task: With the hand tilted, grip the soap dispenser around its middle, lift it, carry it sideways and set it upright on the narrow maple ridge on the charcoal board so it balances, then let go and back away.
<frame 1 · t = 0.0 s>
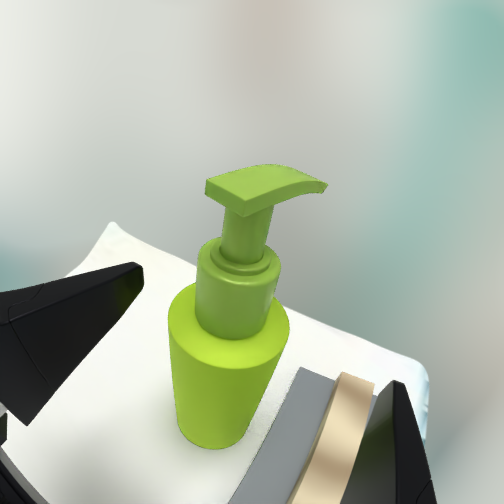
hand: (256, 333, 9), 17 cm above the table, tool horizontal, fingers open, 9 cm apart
base board: (317, 479, 17), on the table
ridge: (324, 476, 16), on the base board, point 1 cm above the table
soap dispenser: (216, 415, 21), on the table
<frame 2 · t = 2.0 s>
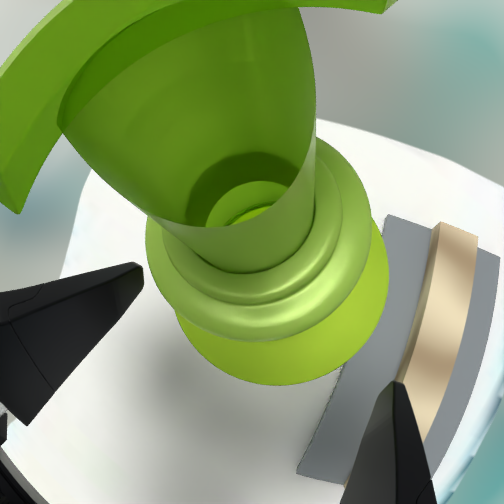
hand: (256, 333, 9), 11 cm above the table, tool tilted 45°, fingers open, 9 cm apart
base board: (417, 367, 17), on the table
ridge: (425, 370, 15), on the base board, point 1 cm above the table
soap dispenser: (298, 302, 20), on the table
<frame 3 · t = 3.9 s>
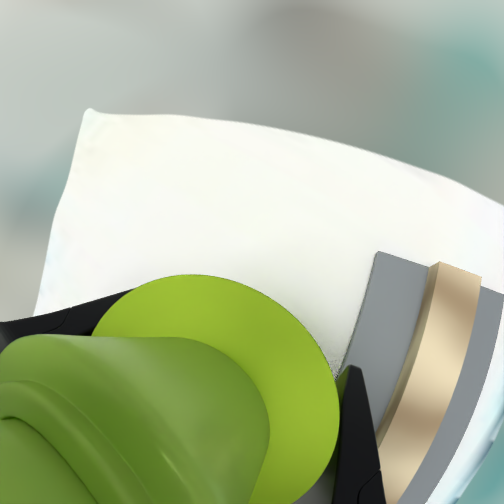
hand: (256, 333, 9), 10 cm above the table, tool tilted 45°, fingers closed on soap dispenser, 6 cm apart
base board: (402, 418, 15), on the table
ridge: (409, 425, 13), on the base board, point 1 cm above the table
soap dispenser: (272, 350, 18), on the table, touching gripper
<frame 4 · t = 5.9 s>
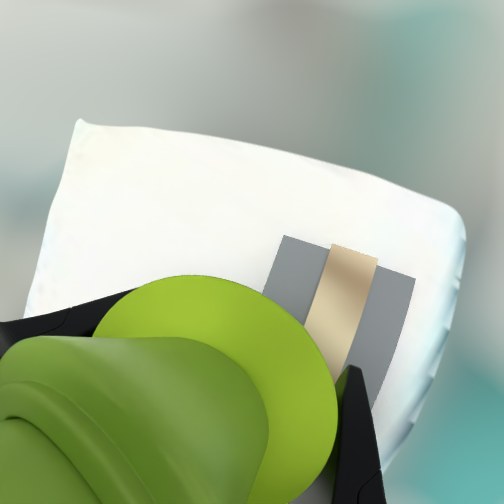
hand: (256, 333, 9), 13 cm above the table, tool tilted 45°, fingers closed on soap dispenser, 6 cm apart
base board: (306, 381, 20), on the table
ridge: (306, 386, 18), on the base board, point 1 cm above the table
soap dispenser: (273, 349, 18), point 3 cm above the table, touching gripper
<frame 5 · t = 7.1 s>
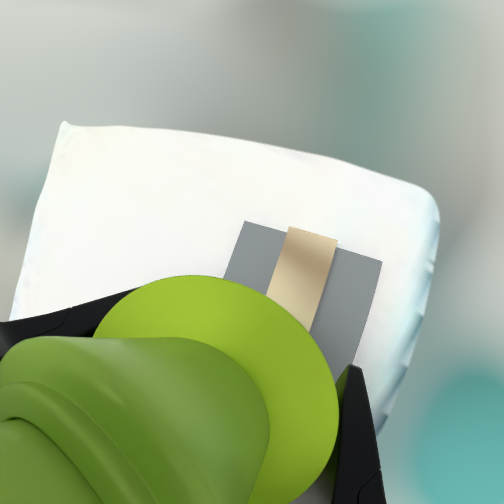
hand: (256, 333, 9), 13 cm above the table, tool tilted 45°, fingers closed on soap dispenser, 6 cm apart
base board: (269, 368, 20), on the table
ridge: (266, 371, 19), on the base board, point 1 cm above the table
soap dispenser: (273, 349, 18), point 3 cm above the table, touching gripper
when the fingers open (13 cm above the table, at t = 7.9 s): soap dispenser stays where it is, resting on ridge.
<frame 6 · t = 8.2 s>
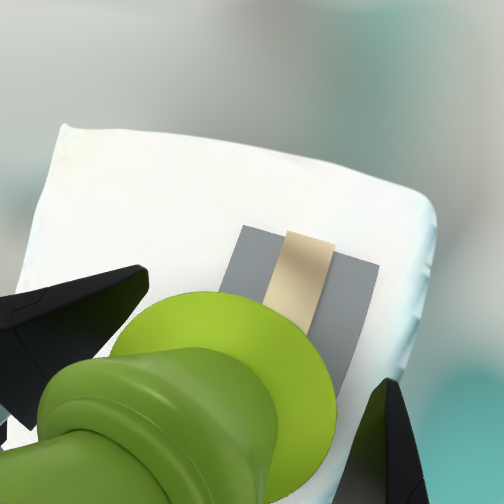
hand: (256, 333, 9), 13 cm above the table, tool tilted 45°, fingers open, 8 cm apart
base board: (268, 370, 20), on the table
ridge: (265, 374, 19), on the base board, point 1 cm above the table
soap dispenser: (272, 351, 18), point 2 cm above the table, touching ridge
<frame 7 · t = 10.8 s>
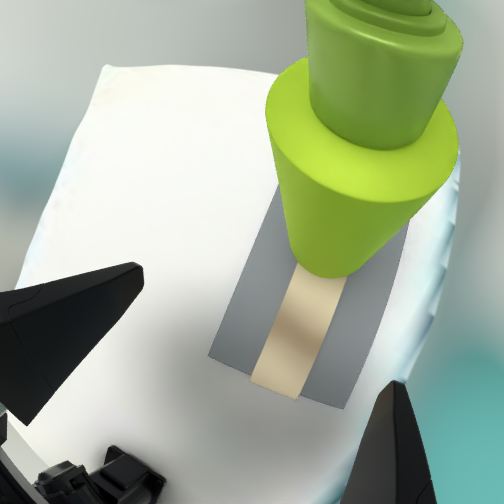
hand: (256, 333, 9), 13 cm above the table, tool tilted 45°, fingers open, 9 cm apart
base board: (325, 261, 22), on the table
ridge: (327, 256, 20), on the base board, point 1 cm above the table
soap dispenser: (335, 231, 20), point 2 cm above the table, touching ridge
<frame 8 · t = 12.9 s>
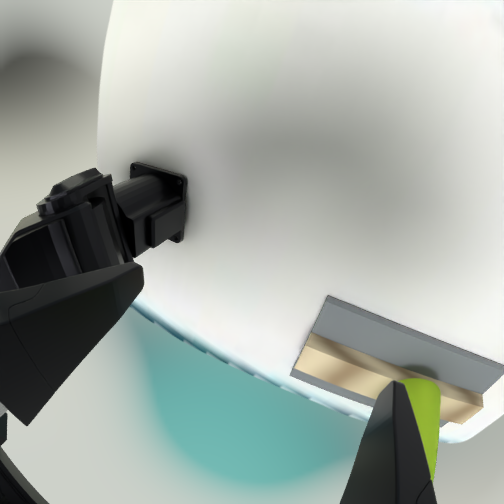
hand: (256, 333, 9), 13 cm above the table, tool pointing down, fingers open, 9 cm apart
base board: (400, 374, 23), on the table
ridge: (399, 387, 22), on the base board, point 1 cm above the table
soap dispenser: (413, 397, 21), point 2 cm above the table, touching ridge
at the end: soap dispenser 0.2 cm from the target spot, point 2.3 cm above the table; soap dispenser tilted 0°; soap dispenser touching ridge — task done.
